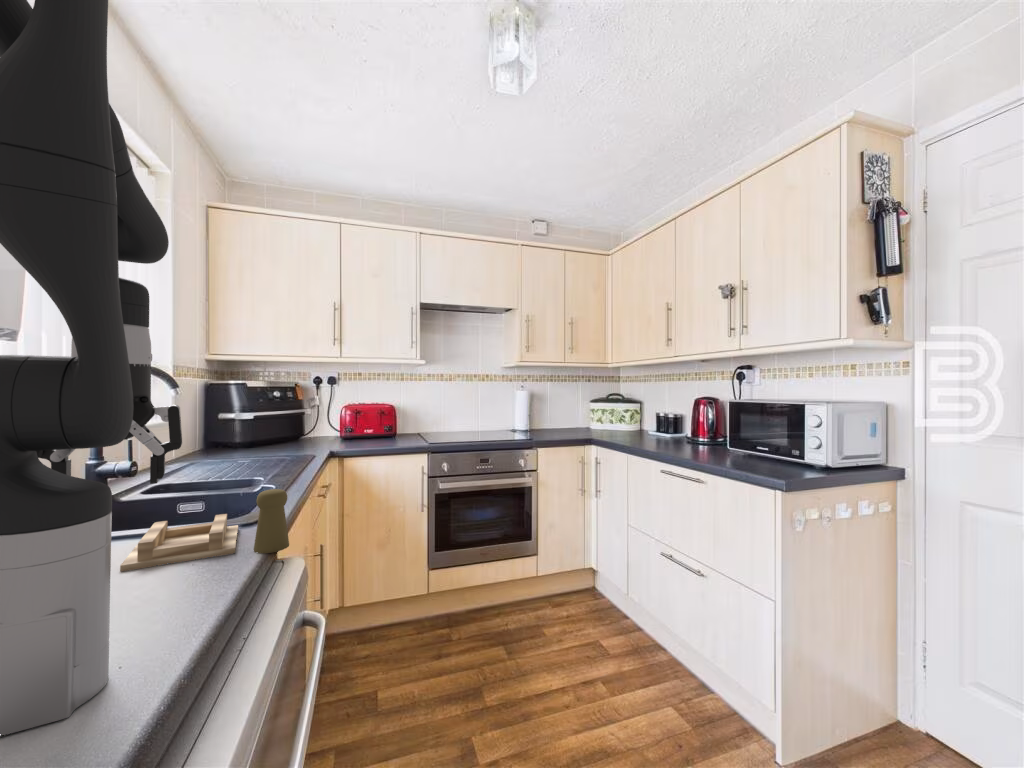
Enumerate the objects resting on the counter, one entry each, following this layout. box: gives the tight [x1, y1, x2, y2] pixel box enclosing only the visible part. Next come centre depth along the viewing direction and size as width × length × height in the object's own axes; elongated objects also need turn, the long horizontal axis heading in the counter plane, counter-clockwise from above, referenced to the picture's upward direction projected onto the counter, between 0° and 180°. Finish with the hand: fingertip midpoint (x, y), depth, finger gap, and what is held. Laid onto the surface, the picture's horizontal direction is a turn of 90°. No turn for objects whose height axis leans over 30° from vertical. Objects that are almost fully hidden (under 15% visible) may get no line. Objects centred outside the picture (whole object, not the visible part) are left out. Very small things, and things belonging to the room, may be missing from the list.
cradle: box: [119, 513, 239, 573], centre depth 82 cm, size 16×16×4 cm
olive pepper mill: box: [253, 488, 290, 554], centre depth 83 cm, size 6×6×11 cm
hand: (111, 486), depth 55 cm, fingers open, 8 cm apart
